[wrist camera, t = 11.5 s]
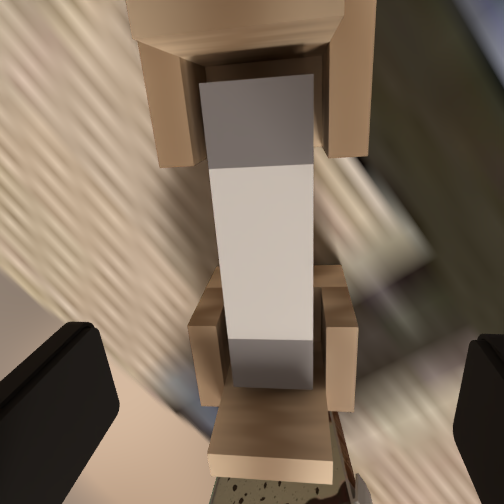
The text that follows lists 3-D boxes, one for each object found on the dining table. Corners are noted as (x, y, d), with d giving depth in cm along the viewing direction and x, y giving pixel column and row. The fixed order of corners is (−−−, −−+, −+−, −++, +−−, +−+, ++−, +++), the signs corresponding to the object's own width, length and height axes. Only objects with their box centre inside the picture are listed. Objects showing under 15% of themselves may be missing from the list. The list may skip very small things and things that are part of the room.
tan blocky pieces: (348, 26, 18) (415, -73, 8) (339, 333, 25) (367, 487, 15) (188, 43, 19) (64, -23, 9) (224, 332, 26) (180, 473, 16)
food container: (260, 469, 32) (246, 616, 23) (219, 428, 30) (185, 567, 21) (382, 422, 28) (423, 577, 19) (341, 371, 26) (364, 513, 17)
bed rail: (309, 81, 16) (313, 73, 12) (309, 329, 22) (312, 390, 17) (225, 88, 17) (198, 83, 12) (246, 328, 22) (233, 386, 18)
